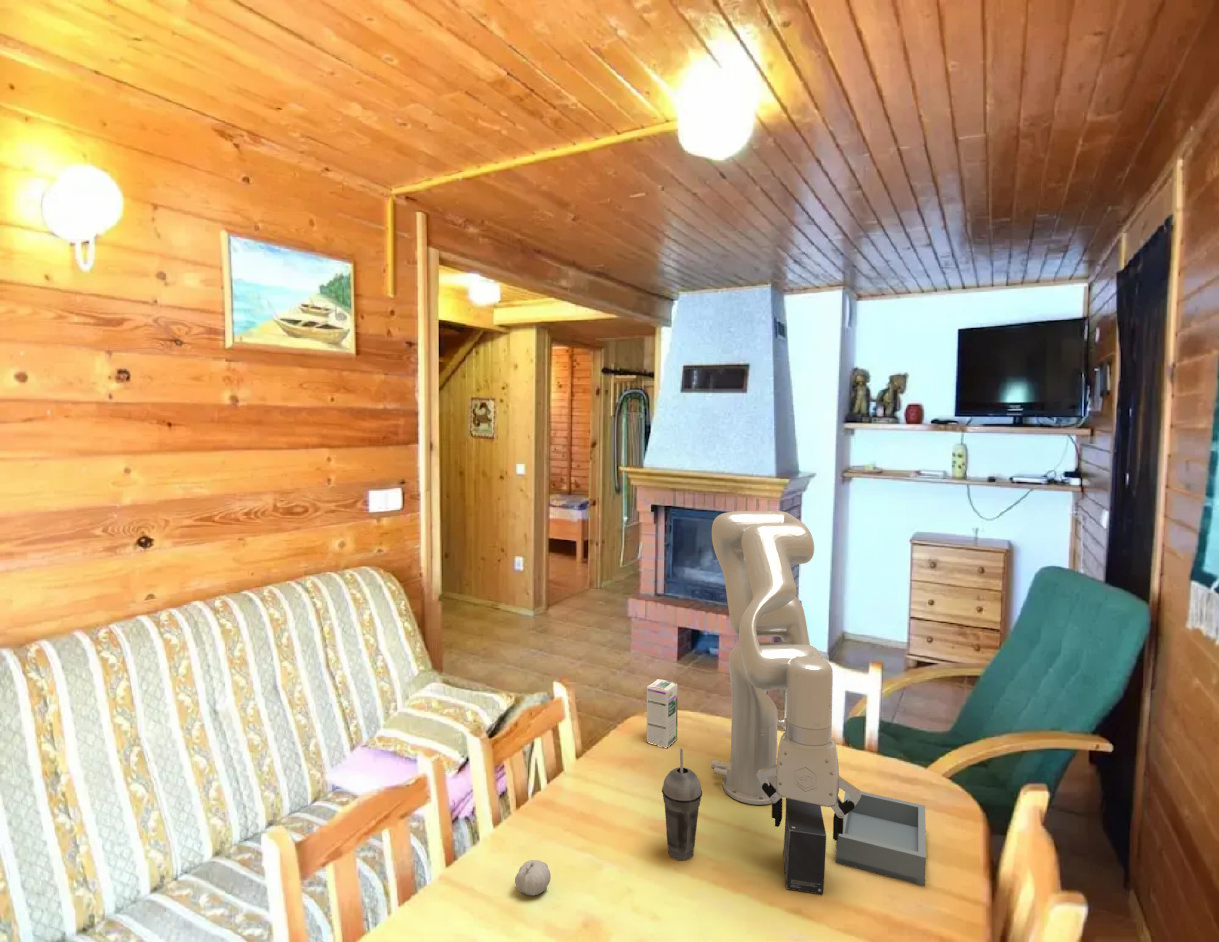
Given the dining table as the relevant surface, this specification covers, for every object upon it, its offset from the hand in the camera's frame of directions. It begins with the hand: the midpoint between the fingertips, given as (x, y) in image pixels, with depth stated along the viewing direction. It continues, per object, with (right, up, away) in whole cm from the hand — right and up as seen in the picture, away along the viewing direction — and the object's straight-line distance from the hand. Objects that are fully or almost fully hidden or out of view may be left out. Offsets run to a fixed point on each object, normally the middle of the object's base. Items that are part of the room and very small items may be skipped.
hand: (806, 829), depth 116 cm
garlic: (-47, -8, -4) cm, 47 cm away
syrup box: (-21, -5, +49) cm, 54 cm away
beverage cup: (-21, -8, +7) cm, 23 cm away
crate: (+17, -8, +9) cm, 21 cm away
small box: (0, -9, +1) cm, 9 cm away
